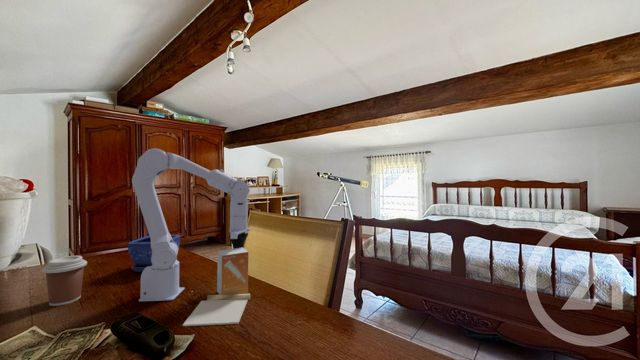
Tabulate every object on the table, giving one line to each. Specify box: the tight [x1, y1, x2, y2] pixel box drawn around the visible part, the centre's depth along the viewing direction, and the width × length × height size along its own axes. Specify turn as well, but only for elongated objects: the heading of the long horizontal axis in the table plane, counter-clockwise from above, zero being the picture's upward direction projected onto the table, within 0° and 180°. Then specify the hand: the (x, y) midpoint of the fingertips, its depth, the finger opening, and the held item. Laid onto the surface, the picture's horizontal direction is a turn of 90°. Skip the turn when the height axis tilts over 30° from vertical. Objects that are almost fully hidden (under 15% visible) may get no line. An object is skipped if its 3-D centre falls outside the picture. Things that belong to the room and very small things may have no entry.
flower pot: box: [127, 234, 181, 273], centre depth 100 cm, size 13×13×12 cm
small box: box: [216, 247, 249, 295], centre depth 78 cm, size 8×6×13 cm
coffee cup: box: [41, 255, 88, 307], centre depth 73 cm, size 9×9×12 cm
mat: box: [182, 299, 249, 327], centre depth 67 cm, size 13×12×1 cm
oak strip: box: [206, 293, 251, 301], centre depth 73 cm, size 12×1×2 cm, turn 96°
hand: (238, 255), depth 86 cm, fingers closed
